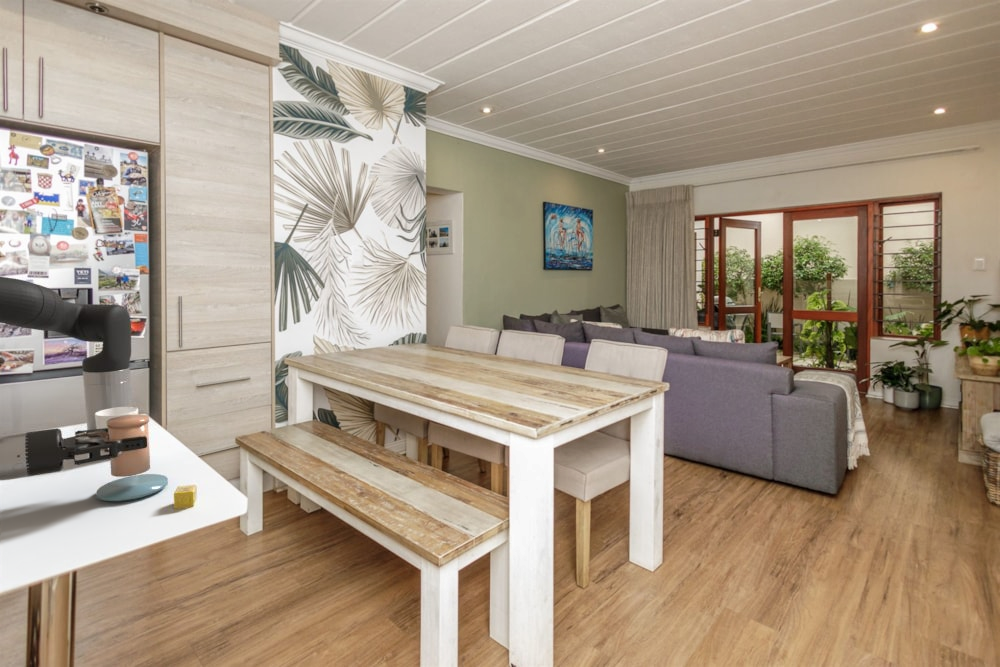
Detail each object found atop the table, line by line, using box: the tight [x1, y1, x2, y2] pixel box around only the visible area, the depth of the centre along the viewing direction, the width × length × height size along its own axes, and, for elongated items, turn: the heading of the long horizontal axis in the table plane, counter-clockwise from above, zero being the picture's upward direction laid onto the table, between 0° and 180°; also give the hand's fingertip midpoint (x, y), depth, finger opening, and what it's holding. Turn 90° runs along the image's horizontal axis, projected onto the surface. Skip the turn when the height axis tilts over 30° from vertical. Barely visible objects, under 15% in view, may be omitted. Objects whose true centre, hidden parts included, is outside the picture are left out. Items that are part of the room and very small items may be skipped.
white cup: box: [95, 406, 139, 450], centre depth 115 cm, size 8×8×10 cm
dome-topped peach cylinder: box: [107, 413, 151, 478], centre depth 95 cm, size 6×6×10 cm
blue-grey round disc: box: [95, 473, 169, 502], centre depth 96 cm, size 11×11×1 cm
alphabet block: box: [173, 484, 198, 510], centre depth 91 cm, size 3×3×3 cm
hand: (145, 437), depth 97 cm, fingers closed on dome-topped peach cylinder, 6 cm apart
